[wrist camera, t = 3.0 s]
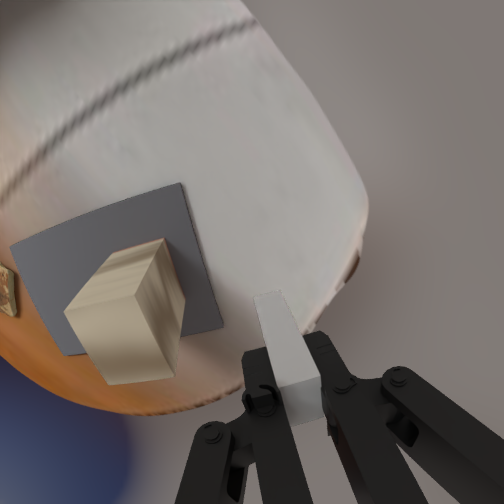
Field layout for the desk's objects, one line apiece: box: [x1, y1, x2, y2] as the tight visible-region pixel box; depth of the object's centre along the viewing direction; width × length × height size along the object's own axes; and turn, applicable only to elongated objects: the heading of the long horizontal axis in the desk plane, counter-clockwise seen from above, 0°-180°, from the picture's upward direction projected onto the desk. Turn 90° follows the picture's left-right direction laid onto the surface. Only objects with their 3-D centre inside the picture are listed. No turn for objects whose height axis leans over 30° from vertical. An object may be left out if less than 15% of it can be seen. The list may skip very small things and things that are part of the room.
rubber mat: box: [10, 183, 224, 356], centre depth 24 cm, size 14×20×1 cm
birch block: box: [64, 238, 186, 385], centre depth 19 cm, size 6×5×10 cm
